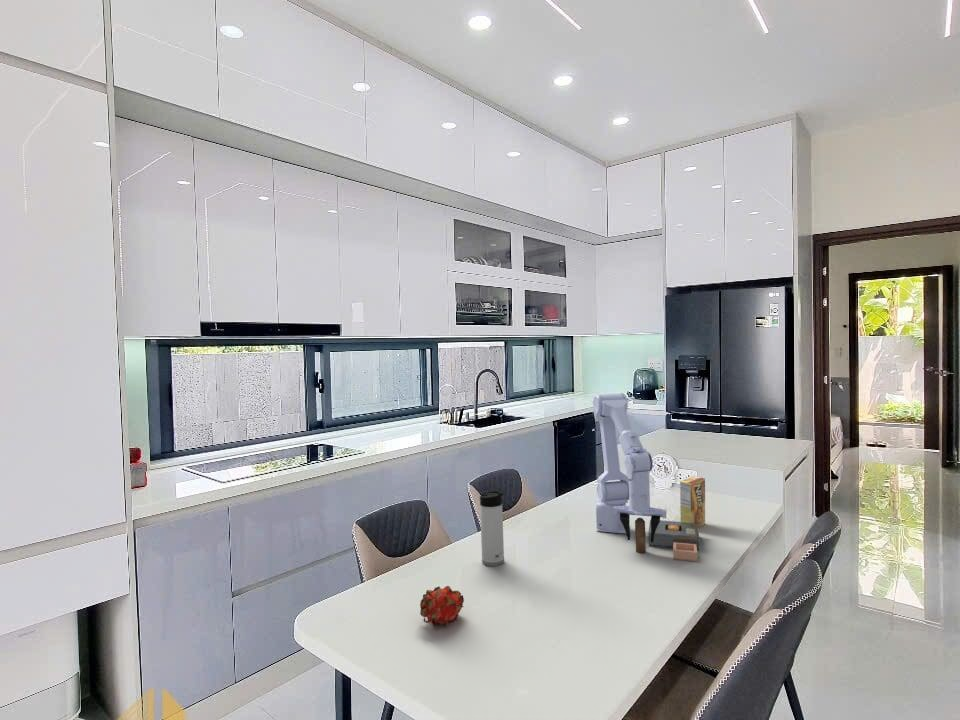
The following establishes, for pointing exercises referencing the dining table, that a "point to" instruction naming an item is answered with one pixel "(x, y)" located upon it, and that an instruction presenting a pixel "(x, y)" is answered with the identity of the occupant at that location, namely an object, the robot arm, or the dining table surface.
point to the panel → (674, 534)
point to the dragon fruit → (441, 605)
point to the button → (673, 527)
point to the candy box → (692, 500)
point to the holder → (684, 551)
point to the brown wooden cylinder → (640, 536)
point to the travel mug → (492, 528)
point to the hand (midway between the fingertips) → (640, 540)
